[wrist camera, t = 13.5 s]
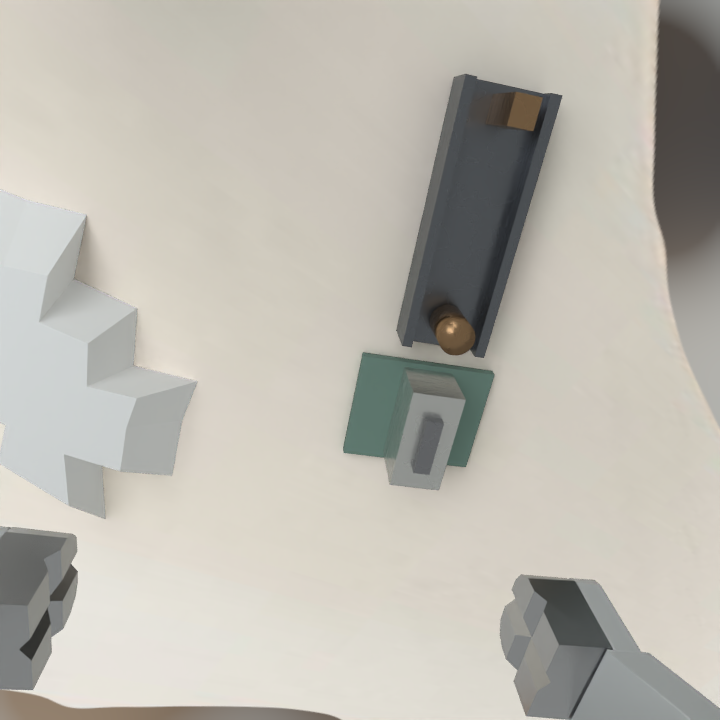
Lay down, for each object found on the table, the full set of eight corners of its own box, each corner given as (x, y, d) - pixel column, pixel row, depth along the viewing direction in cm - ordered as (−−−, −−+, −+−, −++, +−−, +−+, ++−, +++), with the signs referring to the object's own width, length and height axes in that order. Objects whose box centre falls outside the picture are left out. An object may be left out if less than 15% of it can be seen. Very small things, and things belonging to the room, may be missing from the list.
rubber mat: (362, 352, 49) (363, 356, 48) (491, 371, 51) (494, 374, 50) (343, 448, 53) (343, 452, 52) (463, 462, 54) (465, 467, 54)
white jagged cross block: (255, 456, 53) (249, 491, 48) (80, 533, 55) (56, 575, 50) (12, 86, 39) (-32, 82, 34) (-209, 209, 42) (-281, 222, 36)
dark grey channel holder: (453, 77, 41) (479, 70, 34) (543, 96, 42) (584, 94, 35) (396, 330, 48) (408, 363, 42) (472, 341, 49) (496, 376, 43)
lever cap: (404, 366, 49) (415, 397, 44) (452, 373, 49) (468, 404, 44) (383, 452, 52) (390, 490, 47) (428, 457, 53) (440, 496, 48)
